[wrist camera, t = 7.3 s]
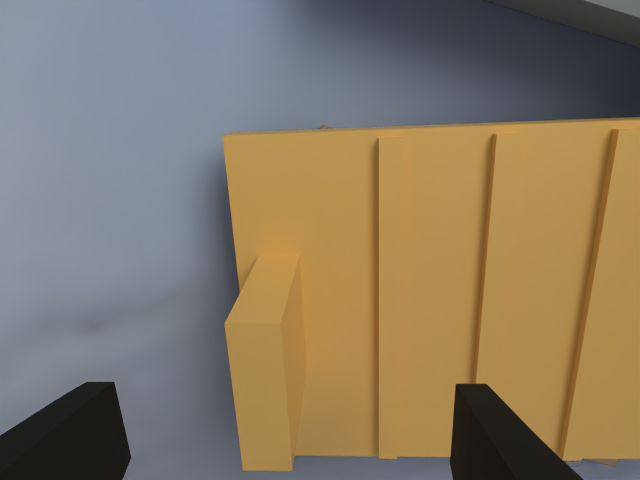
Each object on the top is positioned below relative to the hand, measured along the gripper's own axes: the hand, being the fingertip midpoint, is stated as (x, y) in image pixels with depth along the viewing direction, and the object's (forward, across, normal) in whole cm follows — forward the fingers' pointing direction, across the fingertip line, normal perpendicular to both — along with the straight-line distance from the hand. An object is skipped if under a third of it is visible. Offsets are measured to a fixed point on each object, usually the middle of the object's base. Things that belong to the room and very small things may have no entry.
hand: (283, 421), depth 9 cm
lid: (+6, -6, 0) cm, 8 cm away
